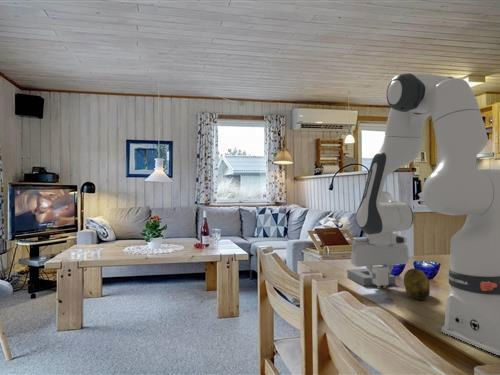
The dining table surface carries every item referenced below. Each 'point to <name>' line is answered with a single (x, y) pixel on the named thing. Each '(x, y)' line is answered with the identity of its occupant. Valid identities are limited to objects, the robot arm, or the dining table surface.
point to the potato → (416, 284)
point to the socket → (365, 277)
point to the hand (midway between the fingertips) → (380, 277)
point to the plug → (380, 276)
